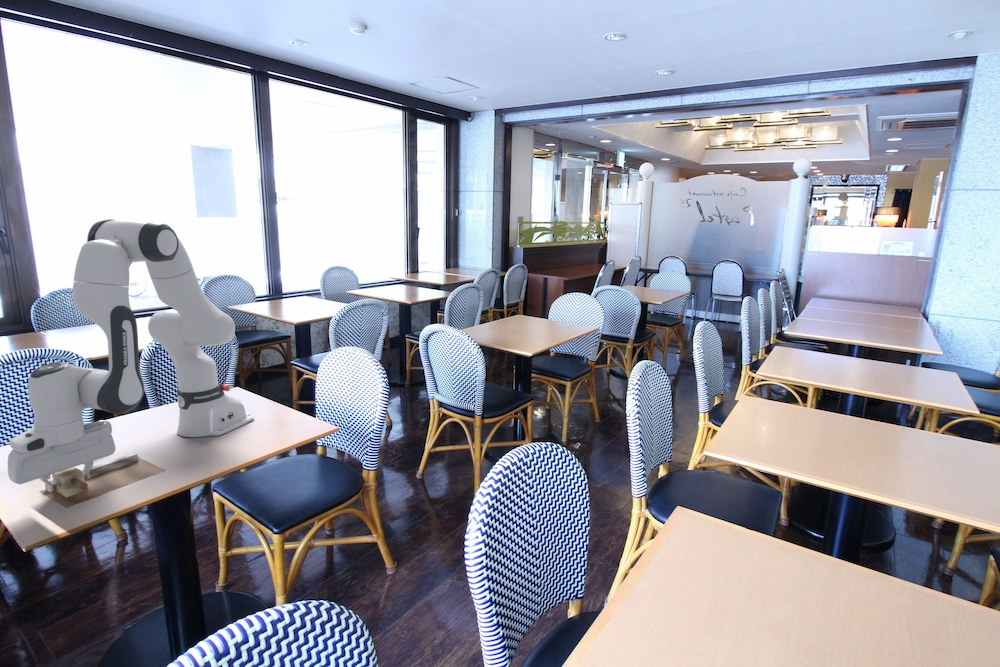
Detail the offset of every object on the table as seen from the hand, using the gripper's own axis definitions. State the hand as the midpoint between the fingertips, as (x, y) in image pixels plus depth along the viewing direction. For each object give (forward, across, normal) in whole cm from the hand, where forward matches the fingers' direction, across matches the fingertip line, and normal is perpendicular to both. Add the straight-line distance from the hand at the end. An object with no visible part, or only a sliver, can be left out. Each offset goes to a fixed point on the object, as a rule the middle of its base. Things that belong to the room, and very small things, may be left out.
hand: (69, 484), depth 127 cm
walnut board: (+3, -7, +1) cm, 8 cm away
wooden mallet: (+2, 0, +3) cm, 3 cm away
